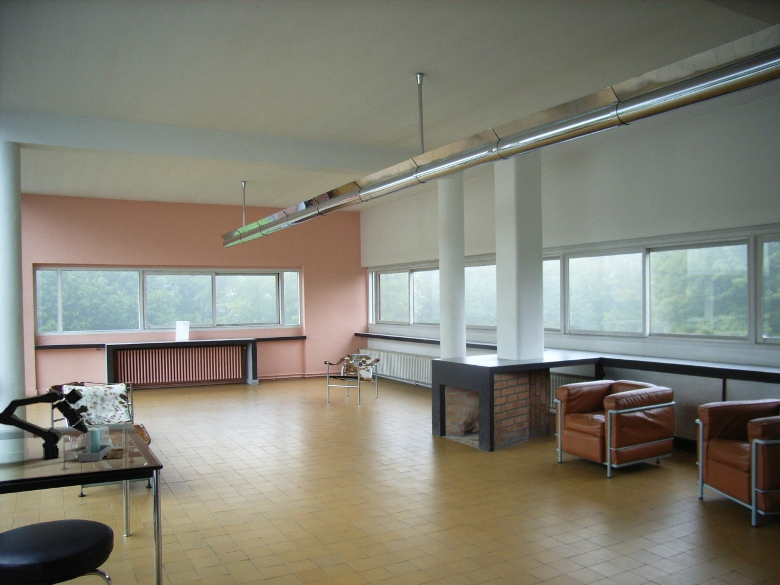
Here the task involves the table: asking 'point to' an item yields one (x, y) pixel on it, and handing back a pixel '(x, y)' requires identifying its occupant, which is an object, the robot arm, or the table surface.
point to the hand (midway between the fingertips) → (87, 432)
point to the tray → (89, 456)
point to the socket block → (117, 452)
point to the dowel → (95, 441)
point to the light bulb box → (103, 435)
